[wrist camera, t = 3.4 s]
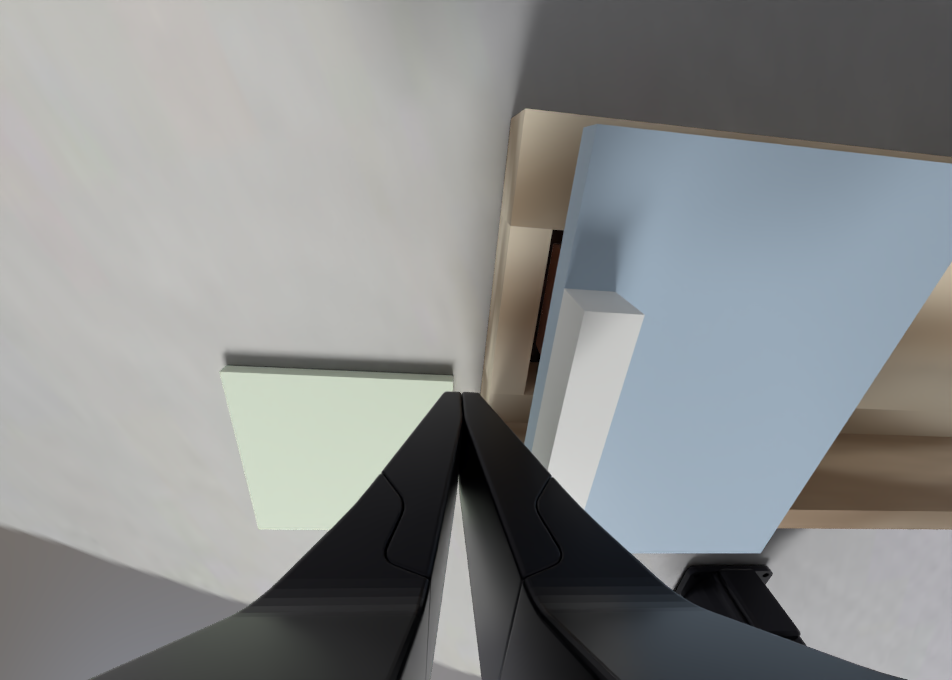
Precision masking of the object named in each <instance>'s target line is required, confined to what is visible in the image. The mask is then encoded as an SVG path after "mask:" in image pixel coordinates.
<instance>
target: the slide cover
mask: <svg viewBox="0 0 952 680" xmlns="http://www.w3.org/2000/svg"><path fill="white" fill-rule="evenodd" d="M951 262H952V164H951V163H942V162H933V161H924V160H915V159H906V158H897V157H888V156H880V155H871V154H862V153H853V152H844V151H835V150H826V149H817V148H808V147H799V146H790V145H781V144H773V143H764V142H755V141H746V140H737V139H728V138H719V137H710V136H701V135H692V134H683V133H674V132H666V131H657V130H648V129H639V128H630V127H621V126H612V125H603V124H595V125H591V126H587V127H583V132H582V138H581V143H580V148H579V154H578V159H577V164H576V170H575V175H574V180H573V186H572V191H571V196H570V202H569V207H568V212H567V218H566V223H565V228H564V234H563V239H562V245H561V250H560V255H559V261H558V266H557V271H556V277H555V282H554V287H553V293H552V298H551V303H550V309H549V314H548V319H547V325H546V330H545V335H544V341H543V346H542V351H541V357H540V362H539V367H538V373H537V378H536V383H535V389H534V394H533V399H532V405H531V410H530V415H529V421H528V426H527V431H526V437H525V442H524V445H525V446H526V447H527V448H528V449H529V450H530V451H531V452H532V454H533V455H534V456H535V457H536V458H537V459H538V460H539V461H540V463H541V464H542V465H543V466H544V467H545V468H546V469H547V470H548V472H549V473H550V474H551V475H552V477H554V478H555V479H556V480H557V481H558V483H559V484H560V485H561V486H562V487H563V488H564V489H565V490H566V491H567V492H568V494H569V495H570V496H571V497H572V498H573V499H574V500H575V501H576V502H577V503H578V504H579V505H580V506H581V507H582V508H583V509H584V510H585V511H586V512H587V513H588V514H589V515H590V516H591V517H592V518H593V519H594V520H595V521H596V522H597V523H598V524H599V525H600V526H602V527H603V528H604V529H605V530H606V531H607V532H608V533H609V534H610V535H611V536H612V537H613V538H615V539H616V540H617V541H618V542H619V543H620V544H621V545H622V546H623V547H624V548H625V549H627V550H628V551H629V552H630V553H761V552H762V550H763V549H764V547H765V546H766V544H767V543H768V541H769V540H770V538H771V537H772V535H773V534H774V532H775V530H776V529H777V527H778V526H779V524H780V523H781V521H782V520H783V518H784V517H785V515H786V514H787V512H788V511H789V509H790V508H791V506H792V505H793V503H794V501H795V500H796V498H797V497H798V495H799V494H800V492H801V491H802V489H803V488H804V486H805V485H806V483H807V482H808V480H809V479H810V477H811V476H812V474H813V473H814V471H815V469H816V468H817V466H818V465H819V463H820V462H821V460H822V459H823V457H824V456H825V454H826V453H827V451H828V450H829V448H830V447H831V445H832V444H833V442H834V440H835V439H836V437H837V436H838V434H839V433H840V431H841V430H842V428H843V427H844V425H845V424H846V422H847V421H848V419H849V418H850V416H851V415H852V413H853V411H854V410H855V408H856V407H857V405H858V404H859V402H860V401H861V399H862V398H863V396H864V395H865V393H866V392H867V390H868V389H869V387H870V386H871V384H872V383H873V381H874V379H875V378H876V376H877V375H878V373H879V372H880V370H881V369H882V367H883V366H884V364H885V363H886V361H887V360H888V358H889V357H890V355H891V354H892V352H893V350H894V349H895V347H896V346H897V344H898V343H899V341H900V340H901V338H902V337H903V335H904V334H905V332H906V331H907V329H908V328H909V326H910V325H911V323H912V322H913V320H914V318H915V317H916V315H917V314H918V312H919V311H920V309H921V308H922V306H923V305H924V303H925V302H926V300H927V299H928V297H929V296H930V294H931V293H932V291H933V289H934V288H935V286H936V285H937V283H938V282H939V280H940V279H941V277H942V276H943V274H944V273H945V271H946V270H947V268H948V267H949V265H950V264H951Z"/></svg>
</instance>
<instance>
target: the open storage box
mask: <svg viewBox="0 0 952 680" xmlns="http://www.w3.org/2000/svg"><path fill="white" fill-rule="evenodd" d="M595 124H603V125H612V126H621V127H630V128H639V129H648V130H657V131H666V132H674V133H683V134H692V135H701V136H710V137H719V138H728V139H737V140H746V141H755V142H764V143H773V144H781V145H790V146H799V147H808V148H817V149H826V150H835V151H844V152H853V153H862V154H871V155H880V156H888V157H897V158H906V159H915V160H924V161H933V162H942V163H951V164H952V157H947V156H939V155H930V154H921V153H912V152H903V151H895V150H886V149H877V148H868V147H860V146H851V145H842V144H833V143H825V142H816V141H807V140H798V139H790V138H781V137H772V136H763V135H754V134H746V133H737V132H728V131H719V130H711V129H702V128H693V127H684V126H676V125H667V124H658V123H649V122H640V121H632V120H623V119H614V118H605V117H597V116H588V115H579V114H570V113H562V112H553V111H544V110H535V109H526V108H525V109H524V110H522V111H521V112H520V113H518V114H517V115H516V116H514V117H513V118H511V124H510V133H509V142H508V151H507V160H506V169H505V178H504V187H503V196H502V205H501V214H500V222H499V231H498V240H497V249H496V258H495V267H494V276H493V285H492V294H491V303H490V312H489V321H488V330H487V339H486V347H485V356H484V365H483V374H482V383H481V392H480V395H481V396H482V397H483V398H484V400H485V401H486V402H487V403H488V404H489V405H490V406H491V407H492V409H493V410H494V411H495V412H496V413H497V414H498V415H499V416H500V418H501V419H502V420H503V421H504V422H505V423H506V424H507V425H508V427H509V428H510V429H511V430H512V431H513V432H514V433H515V434H516V436H517V437H518V438H519V439H520V440H521V441H522V442H523V443H524V442H525V437H526V431H527V426H528V421H529V415H530V410H531V405H532V399H533V394H534V389H535V383H536V378H537V373H538V367H539V363H538V362H530V357H531V351H532V345H533V339H534V334H535V328H536V322H537V316H538V311H539V305H540V299H541V293H542V288H543V282H544V276H545V270H546V265H547V259H548V253H549V247H550V242H551V236H552V230H564V228H565V223H566V218H567V212H568V207H569V202H570V196H571V191H572V186H573V180H574V175H575V170H576V164H577V159H578V154H579V148H580V143H581V138H582V132H583V127H587V126H591V125H595ZM777 528H821V529H952V262H951V264H950V265H949V267H948V268H947V270H946V271H945V273H944V274H943V276H942V277H941V279H940V280H939V282H938V283H937V285H936V286H935V288H934V289H933V291H932V293H931V294H930V296H929V297H928V299H927V300H926V302H925V303H924V305H923V306H922V308H921V309H920V311H919V312H918V314H917V315H916V317H915V318H914V320H913V322H912V323H911V325H910V326H909V328H908V329H907V331H906V332H905V334H904V335H903V337H902V338H901V340H900V341H899V343H898V344H897V346H896V347H895V349H894V350H893V352H892V354H891V355H890V357H889V358H888V360H887V361H886V363H885V364H884V366H883V367H882V369H881V370H880V372H879V373H878V375H877V376H876V378H875V379H874V381H873V383H872V384H871V386H870V387H869V389H868V390H867V392H866V393H865V395H864V396H863V398H862V399H861V401H860V402H859V404H858V405H857V407H856V408H855V410H854V411H853V413H852V415H851V416H850V418H849V419H848V421H847V422H846V424H845V425H844V427H843V428H842V430H841V431H840V433H839V434H838V436H837V437H836V439H835V440H834V442H833V444H832V445H831V447H830V448H829V450H828V451H827V453H826V454H825V456H824V457H823V459H822V460H821V462H820V463H819V465H818V466H817V468H816V469H815V471H814V473H813V474H812V476H811V477H810V479H809V480H808V482H807V483H806V485H805V486H804V488H803V489H802V491H801V492H800V494H799V495H798V497H797V498H796V500H795V501H794V503H793V505H792V506H791V508H790V509H789V511H788V512H787V514H786V515H785V517H784V518H783V520H782V521H781V523H780V524H779V526H778V527H777Z"/></svg>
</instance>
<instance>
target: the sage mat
mask: <svg viewBox="0 0 952 680" xmlns="http://www.w3.org/2000/svg"><path fill="white" fill-rule="evenodd" d="M219 373H220V377H221V381H222V385H223V389H224V393H225V397H226V401H227V405H228V409H229V413H230V417H231V421H232V425H233V429H234V433H235V437H236V441H237V445H238V449H239V453H240V457H241V461H242V465H243V469H244V473H245V477H246V481H247V485H248V489H249V493H250V497H251V501H252V505H253V509H254V513H255V517H256V521H257V525H258V529H259V530H330V529H331V528H332V527H333V526H334V525H335V524H336V523H337V522H338V521H339V520H340V519H341V518H342V517H343V516H344V515H345V514H346V513H347V512H348V511H349V510H350V509H351V508H352V506H353V505H354V504H355V503H356V502H357V501H358V500H359V498H360V497H361V496H362V495H363V494H364V493H365V491H366V490H367V489H368V488H369V487H370V485H371V484H372V483H373V481H374V480H375V479H376V478H377V476H378V475H379V474H381V472H382V470H383V469H384V468H385V466H386V465H387V464H388V463H389V461H390V460H391V459H392V458H393V456H394V455H395V454H396V452H397V451H398V450H399V449H400V447H401V446H402V445H403V444H404V442H405V441H406V440H407V439H408V437H409V436H410V435H411V433H412V432H413V431H414V430H415V428H416V427H417V426H418V425H419V423H420V422H421V421H422V419H423V418H424V417H425V416H426V414H427V413H428V412H429V411H430V409H431V408H432V407H433V405H434V404H435V403H436V402H437V400H438V399H439V398H440V397H441V395H442V394H443V393H444V392H445V391H451V392H453V375H431V374H408V373H386V372H364V371H341V370H319V369H296V368H274V367H251V366H229V365H226V366H225V367H224V368H223V369H222V370H221V371H220V372H219Z"/></svg>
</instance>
